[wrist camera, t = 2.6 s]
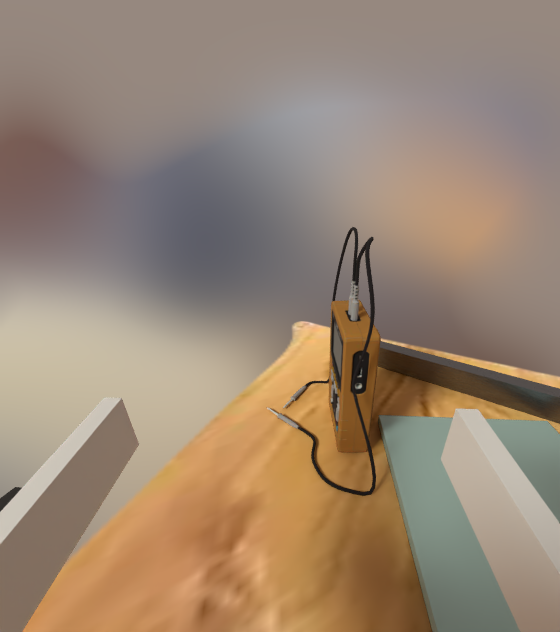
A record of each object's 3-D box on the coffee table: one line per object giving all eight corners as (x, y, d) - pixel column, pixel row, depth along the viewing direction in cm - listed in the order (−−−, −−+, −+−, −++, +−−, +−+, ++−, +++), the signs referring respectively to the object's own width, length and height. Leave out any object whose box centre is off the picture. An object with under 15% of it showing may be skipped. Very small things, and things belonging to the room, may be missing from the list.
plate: (543, 428, 29) (547, 421, 28) (920, 849, 11) (946, 847, 10) (378, 422, 30) (378, 415, 30) (469, 772, 13) (474, 768, 12)
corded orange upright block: (268, 383, 37) (254, 223, 28) (346, 380, 37) (356, 217, 28) (258, 498, 24) (226, 266, 15) (379, 496, 24) (418, 257, 15)
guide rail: (568, 416, 30) (579, 394, 28) (570, 426, 29) (582, 404, 27) (362, 354, 42) (364, 336, 40) (358, 360, 41) (360, 342, 39)
